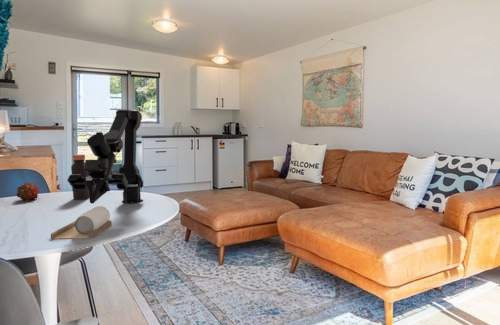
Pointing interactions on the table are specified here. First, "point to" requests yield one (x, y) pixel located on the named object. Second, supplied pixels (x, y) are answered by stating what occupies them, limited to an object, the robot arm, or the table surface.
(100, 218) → the can
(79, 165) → the bottle
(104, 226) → the wooden tray
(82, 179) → the robot arm
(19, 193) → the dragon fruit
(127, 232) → the table surface
